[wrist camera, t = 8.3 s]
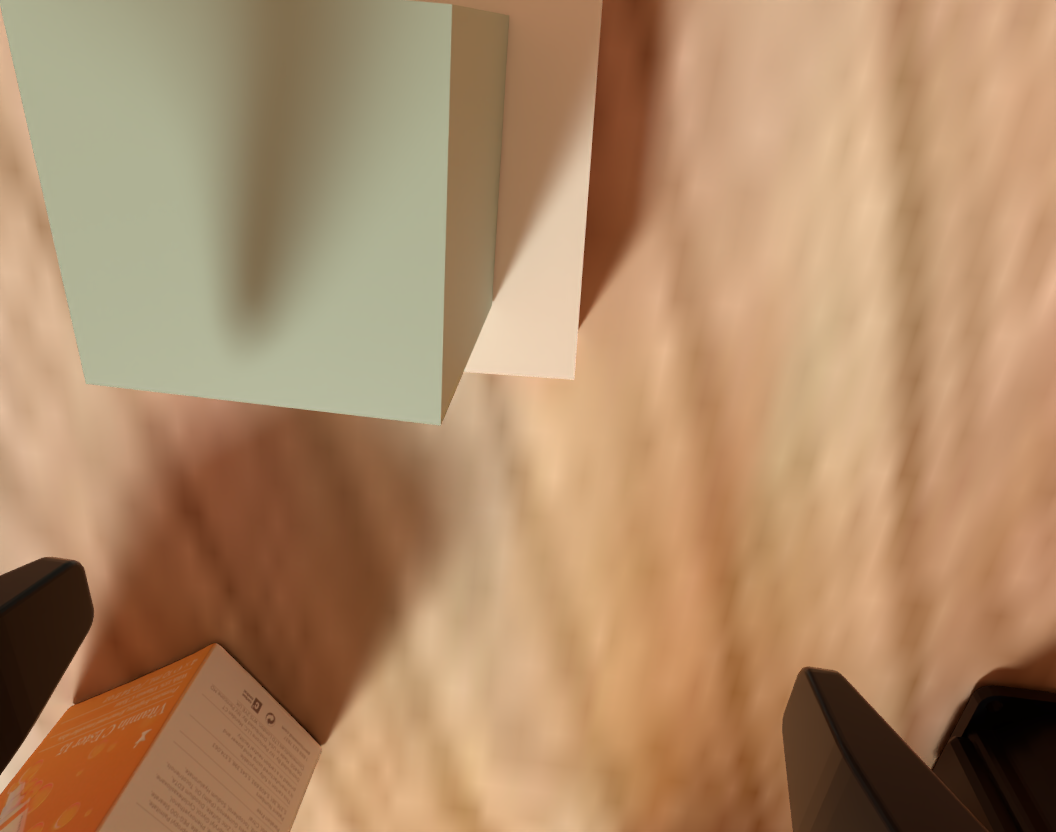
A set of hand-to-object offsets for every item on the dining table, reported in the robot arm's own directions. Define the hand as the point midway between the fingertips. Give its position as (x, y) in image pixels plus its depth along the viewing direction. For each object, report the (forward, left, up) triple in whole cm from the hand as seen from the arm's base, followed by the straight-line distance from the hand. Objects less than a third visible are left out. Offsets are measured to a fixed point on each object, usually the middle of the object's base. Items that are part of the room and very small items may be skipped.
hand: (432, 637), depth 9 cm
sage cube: (+3, -4, -8) cm, 10 cm away
